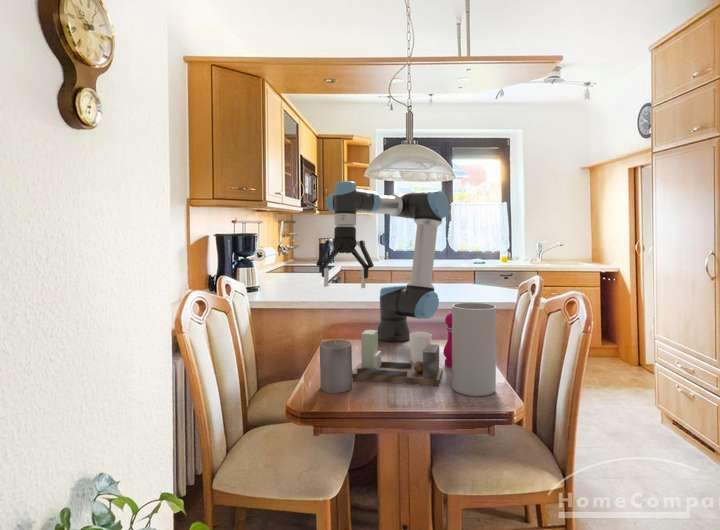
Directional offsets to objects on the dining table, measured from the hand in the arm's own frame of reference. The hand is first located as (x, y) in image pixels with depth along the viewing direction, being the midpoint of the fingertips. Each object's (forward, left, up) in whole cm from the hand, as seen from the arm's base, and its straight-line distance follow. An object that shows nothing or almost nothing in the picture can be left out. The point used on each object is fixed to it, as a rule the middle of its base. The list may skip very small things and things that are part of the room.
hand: (344, 287), depth 161 cm
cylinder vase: (0, +47, -28) cm, 55 cm away
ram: (+5, +14, -25) cm, 30 cm away
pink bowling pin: (-20, +32, -28) cm, 47 cm away
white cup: (-18, +20, -28) cm, 39 cm away
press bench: (+2, +22, -28) cm, 36 cm away
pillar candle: (+21, +12, -28) cm, 37 cm away
